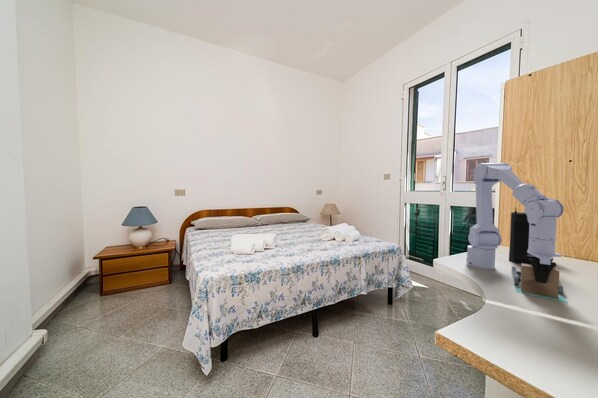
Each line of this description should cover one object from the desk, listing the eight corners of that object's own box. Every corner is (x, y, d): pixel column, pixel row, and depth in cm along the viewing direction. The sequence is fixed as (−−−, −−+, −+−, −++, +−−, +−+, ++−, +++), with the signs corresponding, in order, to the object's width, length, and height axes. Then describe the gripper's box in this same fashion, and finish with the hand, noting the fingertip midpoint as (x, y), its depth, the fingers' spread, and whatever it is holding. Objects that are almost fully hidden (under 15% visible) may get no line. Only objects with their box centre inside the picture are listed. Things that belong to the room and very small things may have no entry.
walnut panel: (521, 291, 73) (522, 265, 73) (520, 288, 75) (521, 263, 75) (558, 298, 68) (559, 271, 68) (556, 295, 70) (557, 268, 70)
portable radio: (530, 262, 101) (533, 207, 99) (537, 267, 95) (540, 208, 94) (507, 260, 104) (509, 206, 103) (513, 264, 99) (515, 207, 97)
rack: (514, 287, 78) (514, 277, 78) (511, 274, 89) (511, 266, 88) (562, 296, 71) (563, 286, 71) (553, 281, 81) (553, 272, 81)
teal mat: (516, 294, 73) (516, 292, 73) (514, 287, 77) (514, 285, 77) (568, 305, 66) (568, 302, 66) (563, 297, 70) (563, 295, 70)
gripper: (567, 245, 62) (565, 292, 63) (555, 235, 73) (553, 276, 74) (531, 241, 67) (529, 285, 68) (525, 232, 78) (523, 271, 79)
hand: (539, 280), depth 71 cm, fingers open, 3 cm apart
